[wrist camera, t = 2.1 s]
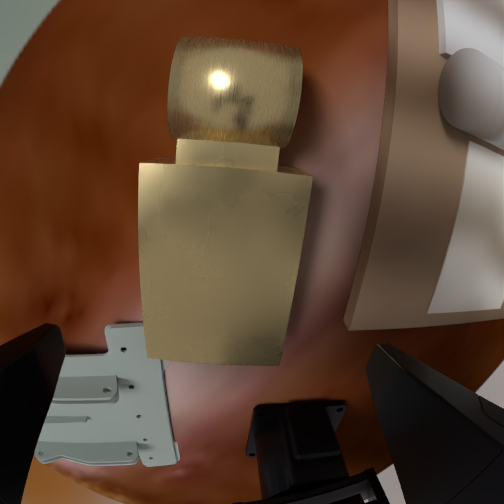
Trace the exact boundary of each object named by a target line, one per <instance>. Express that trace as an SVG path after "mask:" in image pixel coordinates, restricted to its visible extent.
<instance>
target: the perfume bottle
mask: <svg viewBox="0 0 504 504" xmlns="http://www.w3.org/2000/svg"><path fill="white" fill-rule="evenodd" d="M302 77H303V64H302V55H301V51H300V49H299V48H297V47H292V46H286V45H279V44H273V43H265V42H257V41H248V40H238V39H226V38H208V37H182V38H181V39H180V40H179V42H178V44H177V47H176V50H175V53H174V56H173V61H172V66H171V71H170V78H169V87H168V125H169V132H170V135H171V138H172V139H173V140H177V150H176V158H173V157H156V158H153V159H150V160H147V161H144V162H141V163H139V192H138V238H139V268H140V286H141V301H142V313H143V324H144V334H145V343H146V352H147V358H151V359H160V360H170V361H181V362H193V363H208V364H227V365H261V366H279V364H280V360H281V355H282V350H283V345H284V341H285V336H286V331H287V326H288V321H289V316H290V311H291V306H292V301H293V295H294V290H295V285H296V279H297V274H298V268H299V262H300V257H301V251H302V245H303V239H304V233H305V227H306V221H307V214H308V208H309V201H310V195H311V188H312V181H313V176H311V175H309V174H307V173H305V172H303V171H301V170H299V169H297V168H293V167H285V166H278V159H279V151H280V149H285V148H286V147H287V145H288V143H289V141H290V139H291V136H292V134H293V130H294V127H295V123H296V119H297V115H298V110H299V104H300V98H301V90H302Z"/></svg>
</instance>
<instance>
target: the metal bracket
mask: <svg viewBox="0 0 504 504" xmlns="http://www.w3.org/2000/svg"><path fill="white" fill-rule="evenodd" d="M105 336H106V341H107V346H108V352H107V353H104V354H84V355H65V359H64V362H63V365H62V369H61V372H60V375H59V379H58V382H57V386H56V390H55V393H54V397H53V400H52V403H51V405H50V408H49V411H48V413H47V416H46V419H45V422H44V425H43V427H42V430H41V433H40V436H39V439H38V442H37V446H36V449H35V452H34V453H35V457H36V458H37V459H38V460H39V461H40V462H41V463H43V464H47V463H50V462H54V461H57V460H61V459H65V460H69V461H73V462H77V463H81V464H85V465H89V466H114V465H133V464H136V463H138V462H139V460H140V458H141V460H142V463H143V464H144V465H145V466H147V467H152V466H162V465H170V464H175V463H176V462H178V461H179V460H180V456H179V450H178V444H177V442H175V441H174V440H173V434H172V428H171V422H170V416H169V409H168V402H167V395H166V388H165V380H164V370H165V369H167V368H168V362H167V360H160V359H151V358H147V352H146V343H145V334H144V324H143V322H141V323H126V324H110V325H107V326H106V327H105ZM122 347H125V348H127V350H125V351H123V350H121V348H122ZM130 385H133V386H134V387H129V386H130ZM137 415H141V416H137ZM145 438H146V439H145ZM129 456H131V457H129ZM139 456H140V457H139Z"/></svg>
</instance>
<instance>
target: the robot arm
mask: <svg viewBox="0 0 504 504" xmlns="http://www.w3.org/2000/svg"><path fill="white" fill-rule="evenodd" d="M65 355H66V349H65V345H64V341H63V337H62V334H61V330H60V328H59V326H57V325H54V324H49V323H45V324H43V325H41V326H39V327H37V328H35V329H33V330H31V331H29V332H27V333H25V334H23V335H21V336H19V337H17V338H15V339H13V340H11V341H9V342H7V343H5V344H3V345H1V346H0V504H21V501H22V496H23V492H24V488H25V484H26V480H27V476H28V473H29V469H30V465H31V462H32V458H33V455H34V452H35V449H36V446H37V442H38V439H39V436H40V433H41V430H42V427H43V425H44V422H45V419H46V416H47V413H48V411H49V408H50V405H51V403H52V400H53V397H54V393H55V390H56V386H57V382H58V379H59V375H60V372H61V369H62V365H63V362H64V359H65ZM366 373H367V377H368V381H369V385H370V389H371V393H372V397H373V401H374V405H375V409H376V413H377V416H378V419H379V422H380V425H381V428H382V431H383V434H384V437H385V439H386V442H387V445H388V448H389V451H390V454H391V457H392V460H393V463H394V466H395V470H396V473H397V476H398V479H399V482H400V485H401V489H402V492H403V495H404V499H405V502H406V504H504V409H503V408H501V407H499V406H497V405H496V404H494V403H492V402H490V401H488V400H486V399H485V398H483V397H481V396H478V395H477V394H476V393H474V392H472V391H471V390H469V389H467V388H465V387H464V386H462V385H460V384H458V383H457V382H455V381H453V380H451V379H450V378H448V377H446V376H445V375H443V374H441V373H439V372H438V371H436V370H434V369H432V368H431V367H429V366H427V365H425V364H424V363H422V362H420V361H419V360H417V359H415V358H413V357H412V356H410V355H408V354H407V353H405V352H403V351H401V350H400V349H398V348H396V347H395V346H393V345H391V344H389V343H381V344H376V345H375V346H374V348H373V351H372V353H371V356H370V358H369V361H368V363H367V367H366ZM346 409H347V407H346V404H345V402H343V401H338V402H327V403H314V404H296V405H261V406H257V407H255V408H254V409H253V413H252V419H251V424H250V430H249V435H248V441H247V446H246V456H247V457H250V458H257V462H258V471H259V479H260V487H261V495H262V500H258V501H252V502H246V503H242V502H237V503H233V504H390V503H389V501H388V499H387V497H386V495H385V492H384V490H383V488H382V486H381V484H380V482H379V479H378V477H377V475H376V473H375V471H374V469H373V467H371V468H369V469H366V470H364V472H362V473H359V474H357V475H354V476H351V477H350V476H349V473H348V470H347V467H346V464H345V461H344V458H343V455H342V452H341V449H340V446H339V443H338V440H337V437H336V434H335V431H336V429H337V427H338V425H339V423H340V421H341V419H342V417H343V415H344V413H345V411H346ZM366 499H368V501H369V502H367V503H364V501H363V500H366Z"/></svg>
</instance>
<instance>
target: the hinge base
mask: <svg viewBox="0 0 504 504" xmlns="http://www.w3.org/2000/svg"><path fill="white" fill-rule="evenodd" d="M502 318H504V0H388V59H387V77H386V91H385V103H384V113H383V122H382V131H381V139H380V147H379V154H378V161H377V168H376V174H375V180H374V186H373V192H372V198H371V203H370V209H369V214H368V219H367V224H366V229H365V233H364V238H363V243H362V247H361V252H360V256H359V260H358V265H357V269H356V273H355V277H354V281H353V285H352V289H351V292H350V296H349V300H348V303H347V307H346V311H345V314H344V318H343V322H344V323H345V325H346V327H347V328H348V330H379V329H399V328H415V327H429V326H441V325H451V324H461V323H471V322H479V321H487V320H495V319H502Z"/></svg>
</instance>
